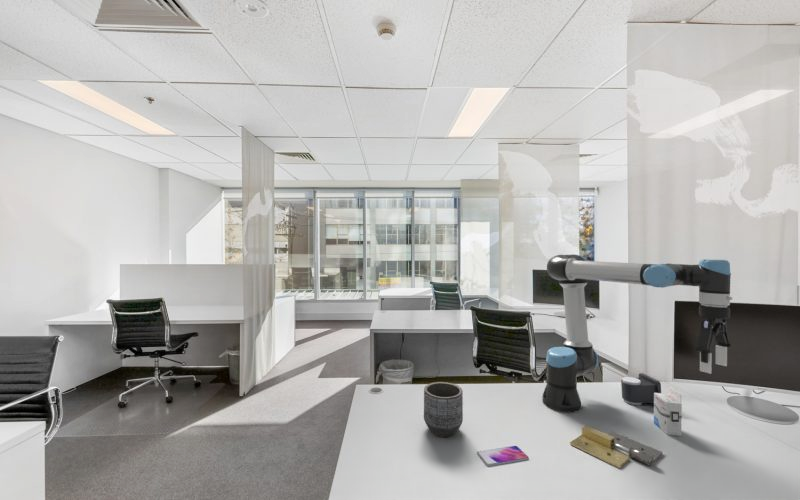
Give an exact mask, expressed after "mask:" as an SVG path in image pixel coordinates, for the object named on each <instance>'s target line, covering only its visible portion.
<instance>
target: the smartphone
mask: <svg viewBox="0 0 800 500" xmlns="http://www.w3.org/2000/svg"><path fill="white" fill-rule="evenodd" d="M476 455H477V456H478V457H479V459H481V461H482V462H483V464H484V465H485V466H486V467H494V466H499V465H506V464H511V463H512V464H513V463H517V462H518V463H519V462H523V461H528V460H529V456H528V455H527V454H526V453H525V452H524V451H523V450H522V449H521V448H520V447H518V445H511V446H505V447H497V448H493V449H492V448H491V449H486V450H480V451H476Z"/></svg>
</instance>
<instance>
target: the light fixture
mask: <svg viewBox="0 0 800 500" xmlns="http://www.w3.org/2000/svg"><path fill="white" fill-rule="evenodd" d="M620 383H621V384H620V385H621V386H620V387H621V398H622V399H623V402H625V403H627V404H629V405H633V406H641V405H642V404H649V403H650V404H652V405H653V406H654V393H662V385H661V381H659V380H657V379H655V378H653V377H651V376H649V375H648V374H645V373H641V372H640V373H638V377H632V376H624V377H622V379H621V381H620Z"/></svg>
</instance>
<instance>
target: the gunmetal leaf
mask: <svg viewBox="0 0 800 500" xmlns="http://www.w3.org/2000/svg"><path fill="white" fill-rule="evenodd" d="M607 434H608V435H610V436H612V437H614V442H612V441H611V445H613V446H614V448H617V449H620V450H621V451H624V452H626V453H628V456H629V457H630V458H632V459H635V460H636V461H639V462H641V463H642V464H643V463H644V464H645V465H647V466H653V465H654V464H655V463H656V462H657V461H658V460H659V459H660V458H661V457H662V456H663V455H664V453H663V451H661V450H658V449H656V448H654V447H652V446H649V445H646V444H644V443H642V442H640V441H638V440H637V441H636V440H634V439H631V438H630V437H627V436H625V435H622V434H620V433H617V432H616V431H609V432H608V433H607Z"/></svg>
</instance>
